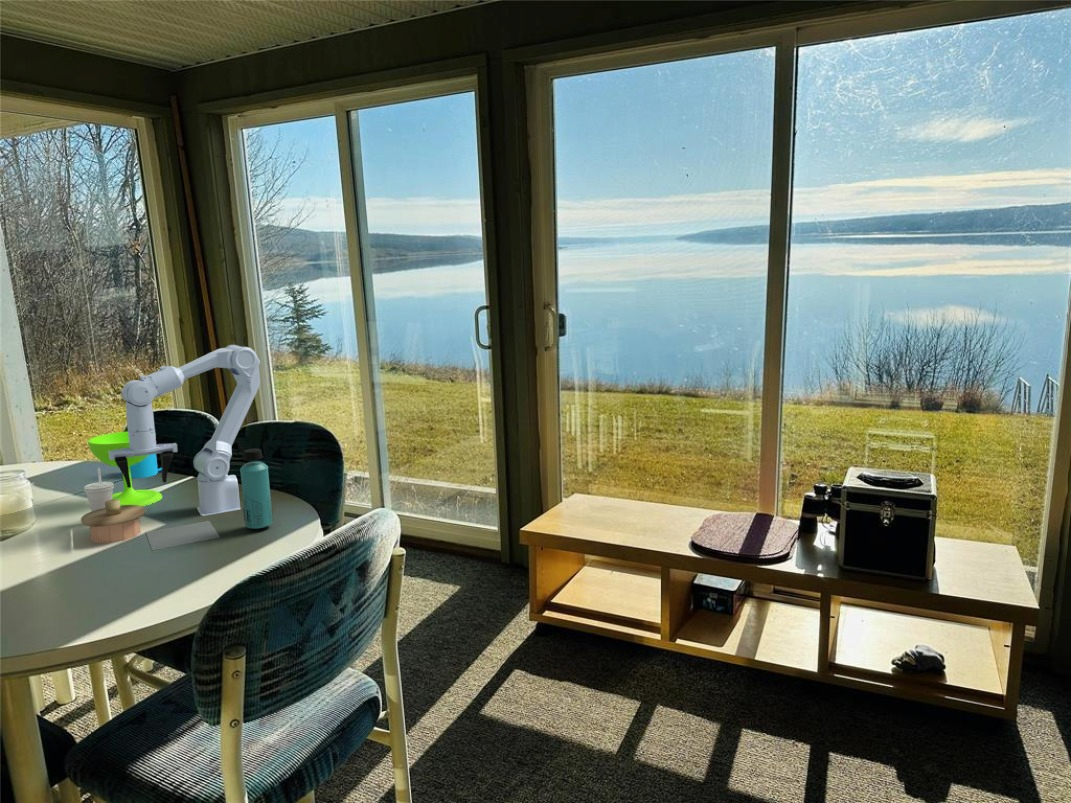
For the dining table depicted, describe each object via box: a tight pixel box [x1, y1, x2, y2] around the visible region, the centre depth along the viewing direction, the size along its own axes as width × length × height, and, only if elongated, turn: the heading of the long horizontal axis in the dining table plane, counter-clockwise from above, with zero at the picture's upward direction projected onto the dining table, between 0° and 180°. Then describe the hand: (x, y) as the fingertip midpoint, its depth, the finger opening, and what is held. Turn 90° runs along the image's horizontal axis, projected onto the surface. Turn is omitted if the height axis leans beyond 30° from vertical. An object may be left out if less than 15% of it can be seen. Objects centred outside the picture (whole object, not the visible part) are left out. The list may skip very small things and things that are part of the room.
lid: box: [80, 499, 146, 527], centre depth 166 cm, size 13×13×4 cm
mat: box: [145, 520, 221, 551], centre depth 167 cm, size 14×14×1 cm
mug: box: [130, 454, 162, 479], centre depth 222 cm, size 12×8×8 cm
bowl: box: [89, 518, 142, 544], centre depth 167 cm, size 10×10×5 cm
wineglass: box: [87, 431, 163, 507], centre depth 193 cm, size 16×16×18 cm
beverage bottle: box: [239, 448, 274, 529], centre depth 169 cm, size 6×7×20 cm
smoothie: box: [83, 467, 115, 512], centre depth 177 cm, size 6×6×14 cm
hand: (146, 484), depth 174 cm, fingers open, 7 cm apart
